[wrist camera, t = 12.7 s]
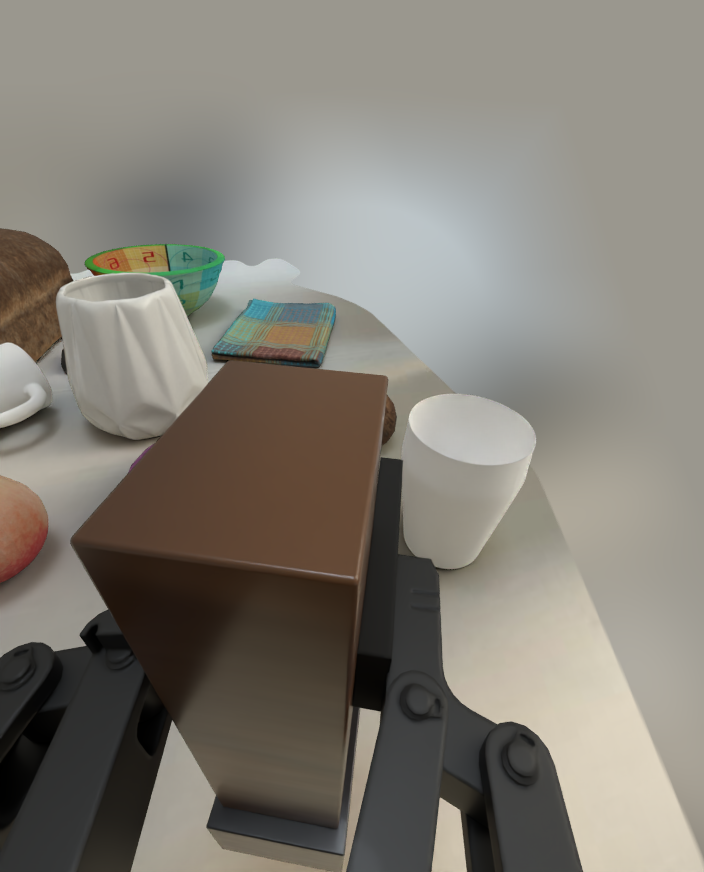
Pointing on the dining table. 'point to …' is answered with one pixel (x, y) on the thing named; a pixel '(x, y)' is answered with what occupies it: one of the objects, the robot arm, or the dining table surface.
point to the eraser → (254, 593)
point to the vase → (129, 352)
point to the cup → (460, 474)
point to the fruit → (19, 527)
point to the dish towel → (278, 334)
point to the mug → (20, 386)
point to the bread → (30, 291)
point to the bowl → (167, 268)
